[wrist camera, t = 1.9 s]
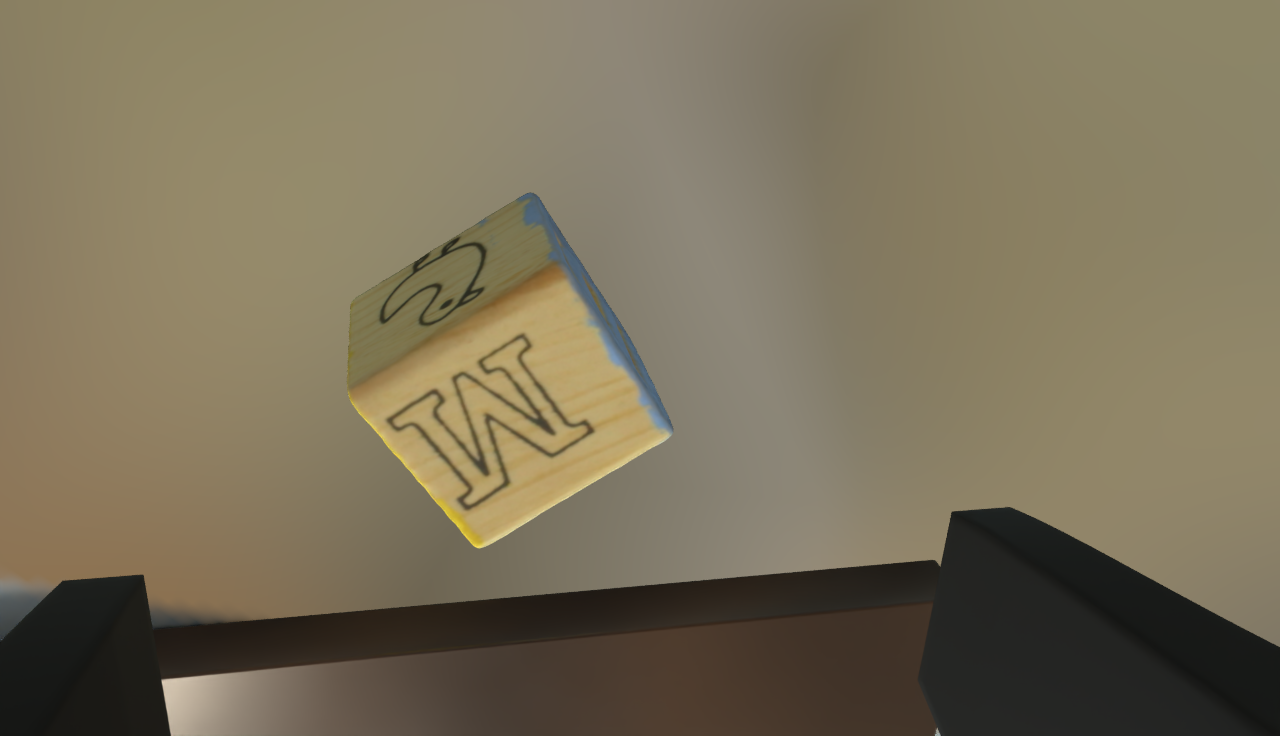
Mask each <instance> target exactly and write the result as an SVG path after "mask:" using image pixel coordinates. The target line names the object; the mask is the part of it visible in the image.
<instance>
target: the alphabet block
mask: <svg viewBox="0 0 1280 736" xmlns="http://www.w3.org/2000/svg"><path fill="white" fill-rule="evenodd" d="M350 309H351V311H350V328H349V346H348V347H349V348H348V375H347V390H348V395H349V398H350V400H351V403H352V404H353V406H354V407H355V408H356V410H357V411H358V412H359V414H360V415H361V416H362V417H363V418H364V419H365V420H366V421H367V422H368V423H369V424H370V425H371V427H372V428H373V429H374V430H375V431H376V433H378V435H379V436H380V437H381V438H382V439H383V441H384V442H385V444H386V445H387V446H388V448H389V449H390V450H391V451H392V452H393V454H394V455H396V456H397V457H398V458H399V459H400V460H401V461H402V463H403V464H404V465H405V467H406V468H407V469H408V470H409V471H411V473H412V474H413V475H414V477H415V478H416V479H417V481H418V482H419V483H421V484H422V485H423V487H424V488H425V489H426V490H427V491H428V493H429V494H430V496H431V497H432V498H433V499H434V501H435V502H436V503H437V504H438V505H439V506H440V507H441V508H442V509H443V510H444V512H445V513H446V515H447V516H448V517H449V518H450V519H451V520H452V521H453V522H454V523H455V524H456V525H457V527H458V528H459V529H460V531H461V532H462V533H463V535H464V536H465V537H466V538H467V539H468V540H469V541H470V542H471V544H472V545H474V546H475V547H477V548H482V547H485V546H487V545H490V544H491V543H494V542H495V541H497V540H498V539H501V538H502V537H504V536H506V535H507V534H509V533H511V532H512V531H514V530H515V529H517V528H518V527H520V526H522V525H523V524H525V523H526V522H528V521H530V520H531V519H533V518H535V517H536V516H538V515H539V514H541V513H542V512H544V511H546V510H547V509H549V508H551V507H552V506H554V505H556V504H557V503H559V502H561V501H562V500H564V499H567V498H568V497H570V496H571V495H573V494H575V493H576V492H578V491H580V490H581V489H583V488H585V487H586V486H588V485H590V484H592V483H593V482H595V481H597V480H598V479H600V478H602V477H604V476H605V475H606V474H608V473H610V472H612V471H614V470H616V469H618V468H620V467H621V466H623V465H624V464H626V463H627V462H629V461H630V460H632V459H634V458H636V457H637V456H639V455H640V454H642V453H644V452H645V451H647V450H649V449H651V448H653V447H654V446H656V445H658V444H660V443H662V442H664V441H665V440H667V439H668V438H669V437H670V436H671V435H672V433H673V427H672V424H671V421H670V419H669V416H668V414H667V412H666V410H665V408H664V406H663V404H662V402H661V399H660V397H659V395H658V393H657V391H656V389H655V386H654V384H653V382H652V380H651V379H650V377H649V375H648V373H647V370H646V368H645V366H644V364H643V362H642V360H641V358H640V356H639V355H638V353H637V351H636V349H635V347H634V345H633V343H632V341H631V339H630V337H629V336H628V334H627V333H626V331H625V330H624V328H623V326H622V325H621V323H620V321H619V320H618V318H617V317H616V315H615V314H614V312H613V311H612V310H611V308H610V307H609V305H608V304H607V302H606V300H605V299H604V297H603V296H602V294H601V293H600V292H599V290H598V289H597V287H596V286H595V284H594V283H593V281H592V279H591V278H590V276H589V275H588V273H587V271H586V270H585V268H584V266H583V265H582V263H581V262H580V260H579V259H578V257H577V256H576V255H575V253H574V251H573V250H572V248H571V247H570V246H569V244H568V243H567V241H566V240H565V238H564V236H563V235H562V233H561V231H560V230H559V228H558V227H557V225H556V224H555V222H554V221H553V219H552V218H551V216H550V215H549V214H548V212H547V210H546V208H545V207H544V205H543V203H542V202H541V200H540V198H539V197H538V196H537V195H536V194H534V193H527V194H525V195H523V196H521V197H520V198H518V199H516V200H515V201H513V202H511V203H510V204H508V205H506V206H505V207H503V208H501V209H500V210H498V211H496V212H495V213H493V214H491V215H490V216H488V217H487V218H485V219H483V220H482V221H480V222H479V223H477V224H476V225H474V226H473V227H471V228H469V229H467V230H465V231H464V232H462V233H461V234H459V235H457V236H456V237H454V238H453V239H451V240H449V241H448V242H446V243H444V244H443V245H441V246H439V247H437V248H435V249H434V250H432V251H430V252H429V253H428V254H426V255H425V256H423V257H422V258H420V259H419V260H417V261H415V262H414V263H412V264H410V265H409V266H407V267H406V268H404V269H402V270H401V271H399V272H398V273H396V274H394V275H393V276H391V277H389V278H388V279H386V280H384V281H382V282H381V283H380V284H378V285H376V286H375V287H373V288H372V289H370V290H368V291H366V292H365V293H363V294H361V295H359V296H358V297H356V298H355V299H354V300H353V301H352V303H351V307H350Z"/></svg>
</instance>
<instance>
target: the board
mask: <svg viewBox="0 0 1280 736" xmlns="http://www.w3.org/2000/svg"><path fill="white" fill-rule="evenodd" d="M939 572H940V566H939V565H938V563H937V562H936V561H935V560H928V561H915V562H904V563H893V564H882V565H871V566H859V567H848V568H837V569H826V570H814V571H803V572H793V573H781V574H770V575H759V576H748V577H736V578H725V579H713V580H703V581H691V582H680V583H668V584H658V585H646V586H635V587H624V588H612V589H601V590H590V591H579V592H567V593H557V594H545V595H534V596H523V597H511V598H500V599H489V600H478V601H466V602H457V603H445V604H433V605H422V606H411V607H399V608H388V609H378V610H365V611H355V612H344V613H332V614H321V615H309V616H298V617H287V618H276V619H264V620H253V621H242V622H231V623H220V624H208V625H197V626H186V627H175V628H163V629H153V633H154V639H155V645H156V651H157V656H158V662H159V668H160V674H161V679H162V685H163V691H164V697H165V703H166V708H167V714H168V720H169V726H170V732H171V736H935V734H936V729H937V725H936V723H935V721H934V718H933V716H932V714H931V711H930V709H929V706H928V704H927V702H926V699H925V697H924V694H923V692H922V690H921V687H920V685H919V682H918V675H919V671H920V666H921V661H922V656H923V651H924V646H925V641H926V636H927V631H928V626H929V621H930V616H931V612H932V607H933V602H934V597H935V592H936V587H937V582H938V577H939Z"/></svg>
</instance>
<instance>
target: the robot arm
mask: <svg viewBox="0 0 1280 736" xmlns="http://www.w3.org/2000/svg"><path fill="white" fill-rule="evenodd" d="M918 682H919V685H920V687H921V690H922V692H923V694H924V697H925V699H926V702H927V704H928V706H929V709H930V711H931V714H932V716H933V718H934V721H935V723H936V725H937V728H938V730H939V733H940V735H941V736H1280V647H1278V646H1276V645H1274V644H1272V643H1270V642H1268V641H1267V640H1264V639H1263V638H1261V637H1259V636H1257V635H1255V634H1253V633H1251V632H1249V631H1247V630H1245V629H1243V628H1241V627H1239V626H1237V625H1235V624H1233V623H1232V622H1230V621H1228V620H1226V619H1224V618H1222V617H1220V616H1218V615H1216V614H1215V613H1213V612H1211V611H1209V610H1207V609H1205V608H1203V607H1201V606H1200V605H1198V604H1196V603H1194V602H1192V601H1190V600H1189V599H1187V598H1185V597H1183V596H1181V595H1179V594H1177V593H1175V592H1174V591H1172V590H1170V589H1168V588H1166V587H1164V586H1163V585H1161V584H1159V583H1157V582H1155V581H1154V580H1152V579H1150V578H1148V577H1146V576H1144V575H1142V574H1140V573H1139V572H1137V571H1135V570H1133V569H1131V568H1130V567H1128V566H1126V565H1124V564H1122V563H1120V562H1119V561H1117V560H1115V559H1113V558H1111V557H1109V556H1107V555H1105V554H1104V553H1102V552H1100V551H1098V550H1096V549H1094V548H1093V547H1091V546H1089V545H1087V544H1085V543H1083V542H1081V541H1079V540H1077V539H1075V538H1074V537H1072V536H1070V535H1068V534H1066V533H1064V532H1062V531H1060V530H1058V529H1056V528H1054V527H1052V526H1050V525H1048V524H1046V523H1044V522H1042V521H1040V520H1037V519H1036V518H1034V517H1031V516H1029V515H1027V514H1025V513H1022V512H1020V511H1018V510H1015V509H1013V508H1010V507H1005V508H992V509H980V510H968V511H954V512H952V513H951V518H950V523H949V528H948V533H947V538H946V543H945V548H944V553H943V558H942V563H941V567H940V572H939V577H938V582H937V587H936V592H935V597H934V602H933V607H932V612H931V616H930V621H929V626H928V631H927V636H926V641H925V646H924V651H923V656H922V661H921V666H920V671H919V675H918ZM0 736H171V732H170V726H169V720H168V714H167V708H166V703H165V697H164V691H163V685H162V679H161V674H160V668H159V662H158V656H157V651H156V645H155V639H154V633H153V627H152V622H151V616H150V610H149V604H148V598H147V593H146V587H145V581H144V576H143V575H132V576H120V577H107V578H94V579H81V580H68V581H62V582H61V583H60V584H59V585H58V586H57V587H56V588H55V589H54V590H53V591H52V592H51V593H49V594H48V595H47V596H46V597H45V598H44V599H43V600H42V601H41V602H40V603H39V604H38V605H37V606H36V607H35V608H34V609H33V610H32V611H31V612H30V613H29V614H28V615H27V616H26V617H25V618H24V619H23V620H22V621H21V622H20V623H19V624H18V625H17V626H16V627H15V628H14V629H13V630H12V631H11V632H10V633H9V634H8V635H7V636H6V637H5V638H4V639H3V640H2V641H1V642H0Z"/></svg>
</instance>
